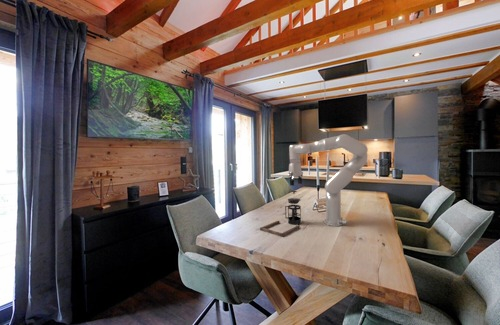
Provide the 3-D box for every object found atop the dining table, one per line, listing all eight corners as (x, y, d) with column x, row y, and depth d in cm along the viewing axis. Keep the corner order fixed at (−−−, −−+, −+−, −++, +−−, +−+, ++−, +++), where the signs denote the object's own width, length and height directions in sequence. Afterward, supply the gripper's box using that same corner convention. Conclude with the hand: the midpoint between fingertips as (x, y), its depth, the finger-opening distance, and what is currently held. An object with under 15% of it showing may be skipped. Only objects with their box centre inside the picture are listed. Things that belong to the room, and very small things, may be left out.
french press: (303, 221, 156) (302, 190, 155) (301, 225, 148) (300, 192, 147) (287, 220, 161) (286, 189, 160) (284, 224, 152) (283, 191, 151)
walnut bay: (299, 228, 143) (299, 225, 143) (282, 236, 129) (282, 234, 129) (277, 222, 155) (277, 220, 155) (260, 230, 142) (259, 227, 141)
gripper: (297, 160, 167) (298, 182, 168) (283, 162, 156) (284, 185, 156) (306, 160, 162) (307, 183, 162) (291, 162, 150) (293, 186, 151)
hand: (296, 184), depth 159 cm, fingers open, 9 cm apart
